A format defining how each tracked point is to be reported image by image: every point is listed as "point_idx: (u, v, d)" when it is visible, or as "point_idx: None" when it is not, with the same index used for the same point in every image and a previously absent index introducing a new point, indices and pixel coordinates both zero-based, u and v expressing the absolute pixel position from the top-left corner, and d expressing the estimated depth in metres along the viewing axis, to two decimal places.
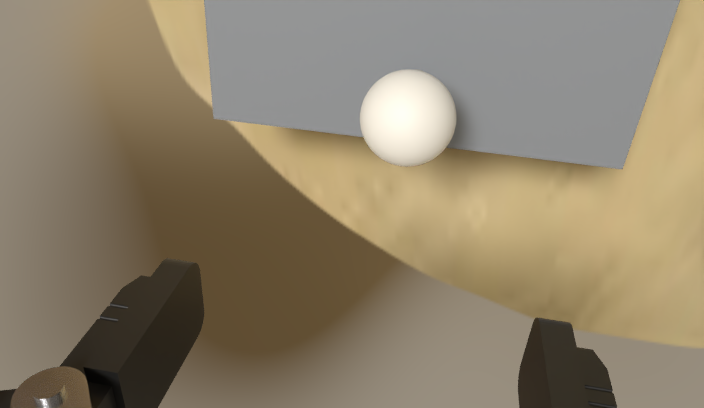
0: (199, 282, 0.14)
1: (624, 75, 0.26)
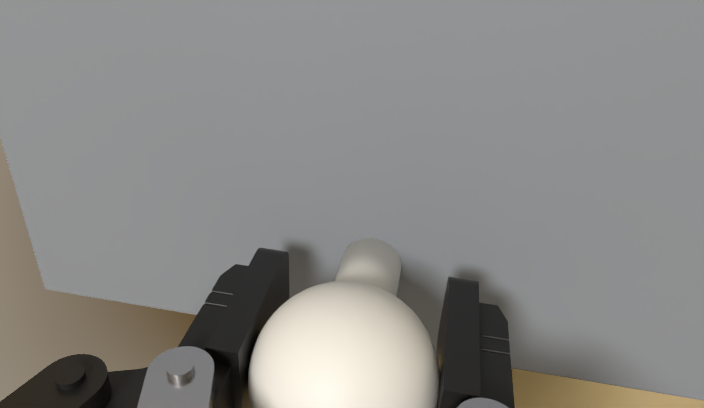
0: (288, 270, 0.15)
1: None
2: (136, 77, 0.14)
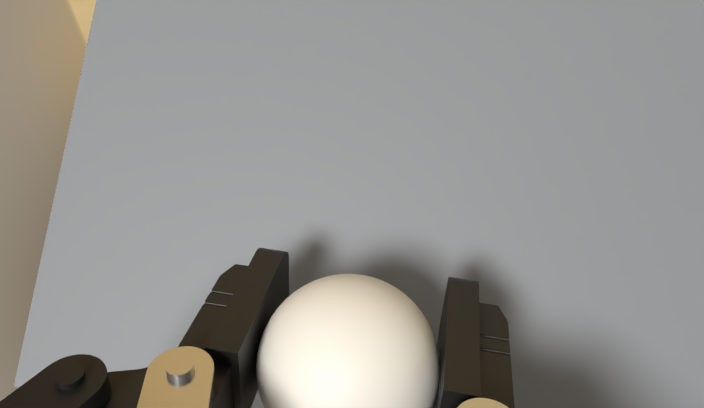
0: (288, 271, 0.15)
1: (699, 343, 0.16)
2: (191, 164, 0.18)
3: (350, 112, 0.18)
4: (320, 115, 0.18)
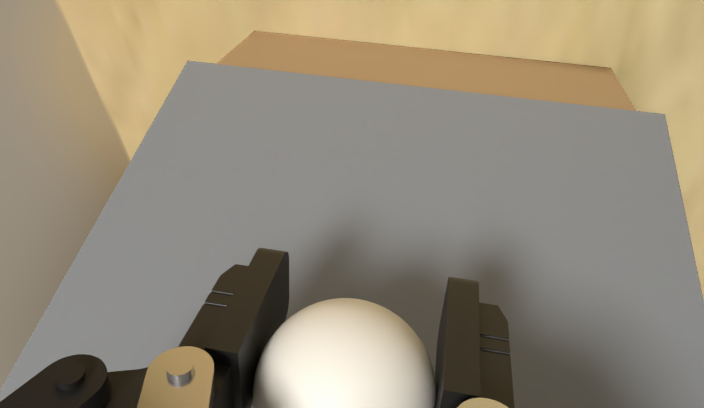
0: (288, 270, 0.15)
1: None
2: (195, 271, 0.19)
3: (344, 236, 0.20)
4: (318, 237, 0.20)
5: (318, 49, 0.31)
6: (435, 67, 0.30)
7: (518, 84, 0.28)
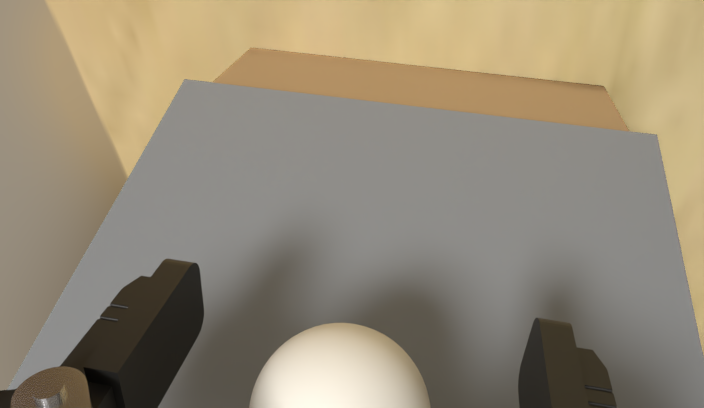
0: (199, 282, 0.14)
1: None
2: None
3: (340, 256, 0.20)
4: (313, 257, 0.20)
5: (314, 67, 0.32)
6: (430, 85, 0.30)
7: (512, 102, 0.29)
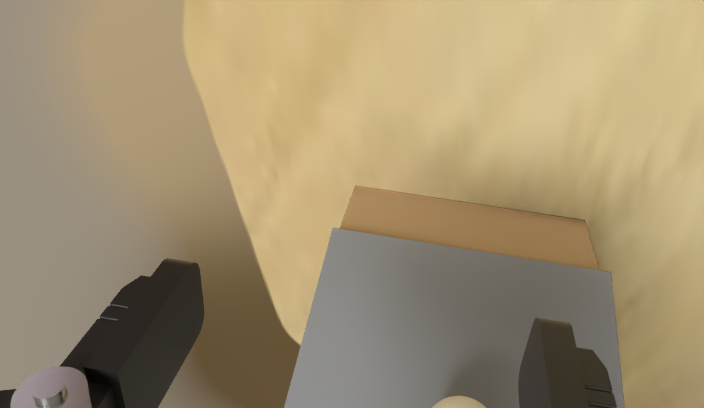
0: (199, 282, 0.14)
1: None
2: (362, 366, 0.37)
3: (437, 347, 0.38)
4: (423, 347, 0.38)
5: (400, 205, 0.50)
6: (475, 222, 0.48)
7: (527, 237, 0.47)
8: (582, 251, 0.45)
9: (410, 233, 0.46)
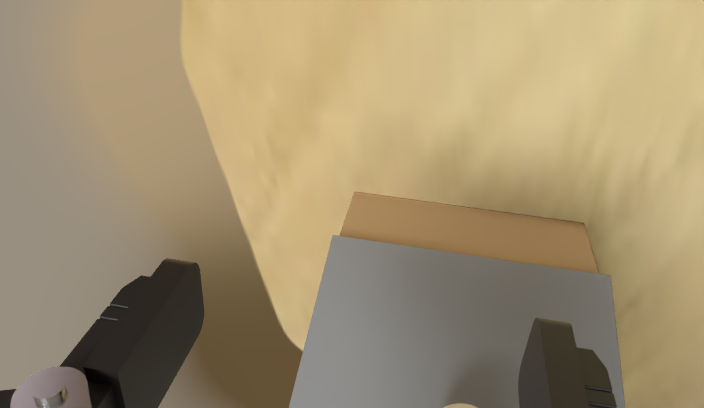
0: (199, 282, 0.14)
1: None
2: (363, 373, 0.37)
3: (438, 353, 0.38)
4: (424, 354, 0.38)
5: (399, 211, 0.50)
6: (475, 226, 0.48)
7: (526, 241, 0.47)
8: (581, 254, 0.46)
9: (410, 239, 0.46)
